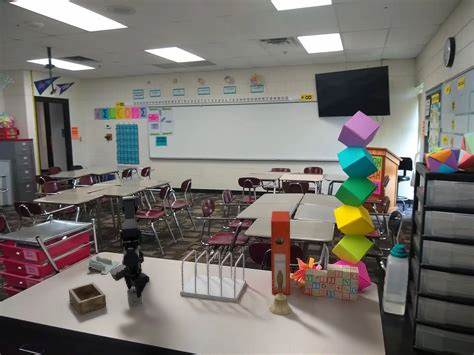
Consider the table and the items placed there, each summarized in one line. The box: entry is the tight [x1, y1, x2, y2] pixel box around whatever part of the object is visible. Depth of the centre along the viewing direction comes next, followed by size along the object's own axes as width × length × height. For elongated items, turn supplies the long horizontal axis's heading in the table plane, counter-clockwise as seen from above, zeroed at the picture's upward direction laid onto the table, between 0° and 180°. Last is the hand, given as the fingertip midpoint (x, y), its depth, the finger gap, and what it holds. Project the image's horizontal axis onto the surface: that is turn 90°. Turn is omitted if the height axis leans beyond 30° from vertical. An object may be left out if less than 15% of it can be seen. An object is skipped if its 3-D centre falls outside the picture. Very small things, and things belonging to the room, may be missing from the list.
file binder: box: [270, 210, 291, 296], centre depth 152 cm, size 8×17×32 cm, turn 172°
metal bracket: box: [85, 255, 121, 275], centre depth 177 cm, size 14×6×15 cm
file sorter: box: [179, 249, 247, 303], centre depth 150 cm, size 25×17×16 cm
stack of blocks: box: [304, 263, 360, 302], centre depth 144 cm, size 21×6×12 cm, turn 73°
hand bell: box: [269, 270, 292, 316], centre depth 133 cm, size 8×8×16 cm
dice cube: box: [126, 288, 143, 308], centre depth 140 cm, size 5×5×5 cm
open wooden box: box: [68, 281, 107, 316], centre depth 140 cm, size 10×15×5 cm, turn 39°
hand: (134, 293), depth 141 cm, fingers open, 9 cm apart
